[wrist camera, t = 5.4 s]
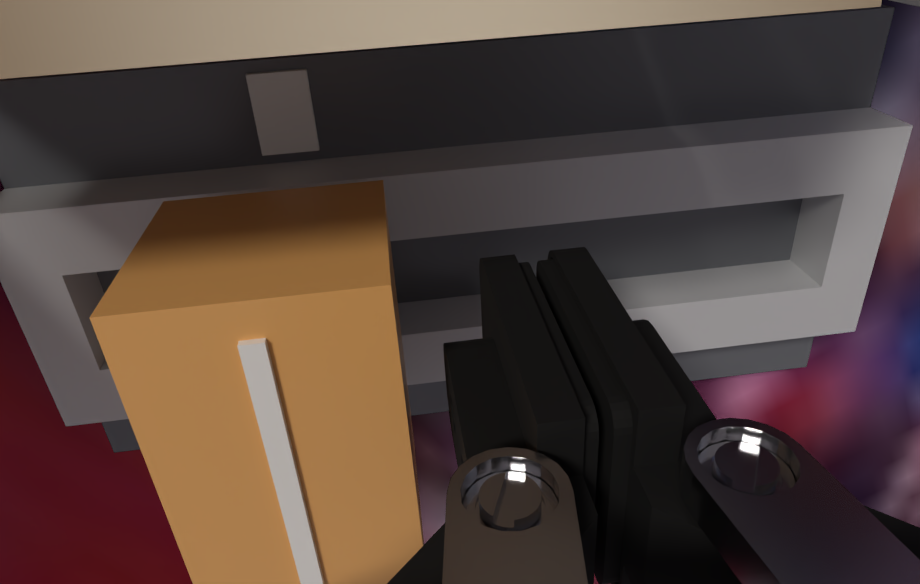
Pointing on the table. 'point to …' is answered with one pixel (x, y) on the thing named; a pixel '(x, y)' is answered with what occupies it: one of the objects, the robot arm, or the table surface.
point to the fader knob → (270, 384)
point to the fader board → (486, 180)
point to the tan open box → (316, 26)
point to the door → (909, 2)
